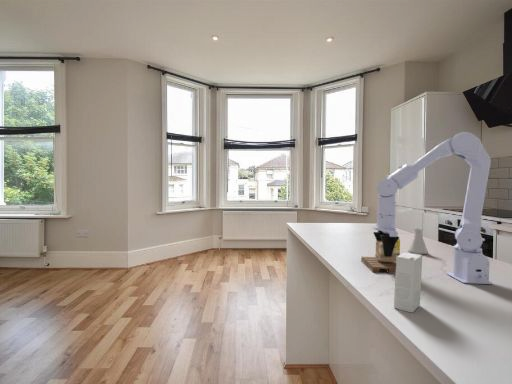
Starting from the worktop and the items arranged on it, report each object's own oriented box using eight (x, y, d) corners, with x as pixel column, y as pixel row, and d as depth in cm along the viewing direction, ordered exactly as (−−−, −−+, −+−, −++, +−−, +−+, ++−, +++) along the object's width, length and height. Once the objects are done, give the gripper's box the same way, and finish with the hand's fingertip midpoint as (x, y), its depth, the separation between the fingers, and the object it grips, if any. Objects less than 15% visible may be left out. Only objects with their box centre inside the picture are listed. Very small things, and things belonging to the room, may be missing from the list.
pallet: (411, 273, 98) (411, 268, 98) (373, 272, 99) (373, 266, 99) (394, 262, 112) (395, 257, 112) (361, 261, 113) (361, 256, 113)
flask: (404, 251, 131) (405, 228, 130) (416, 250, 134) (416, 227, 134) (419, 255, 124) (420, 230, 124) (431, 253, 127) (432, 229, 127)
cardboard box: (395, 261, 103) (396, 244, 103) (380, 261, 103) (380, 243, 103) (390, 258, 108) (390, 241, 108) (375, 257, 108) (375, 240, 108)
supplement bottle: (396, 254, 125) (397, 230, 125) (401, 257, 120) (402, 232, 120) (383, 253, 126) (383, 229, 126) (387, 256, 121) (388, 232, 120)
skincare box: (401, 300, 75) (402, 251, 75) (421, 305, 72) (423, 254, 72) (392, 308, 71) (394, 255, 70) (414, 314, 68) (416, 259, 67)
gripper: (367, 212, 113) (366, 249, 113) (381, 216, 98) (380, 259, 99) (387, 212, 112) (386, 249, 112) (404, 217, 98) (402, 259, 98)
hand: (385, 254), depth 105 cm, fingers closed on cardboard box, 5 cm apart
